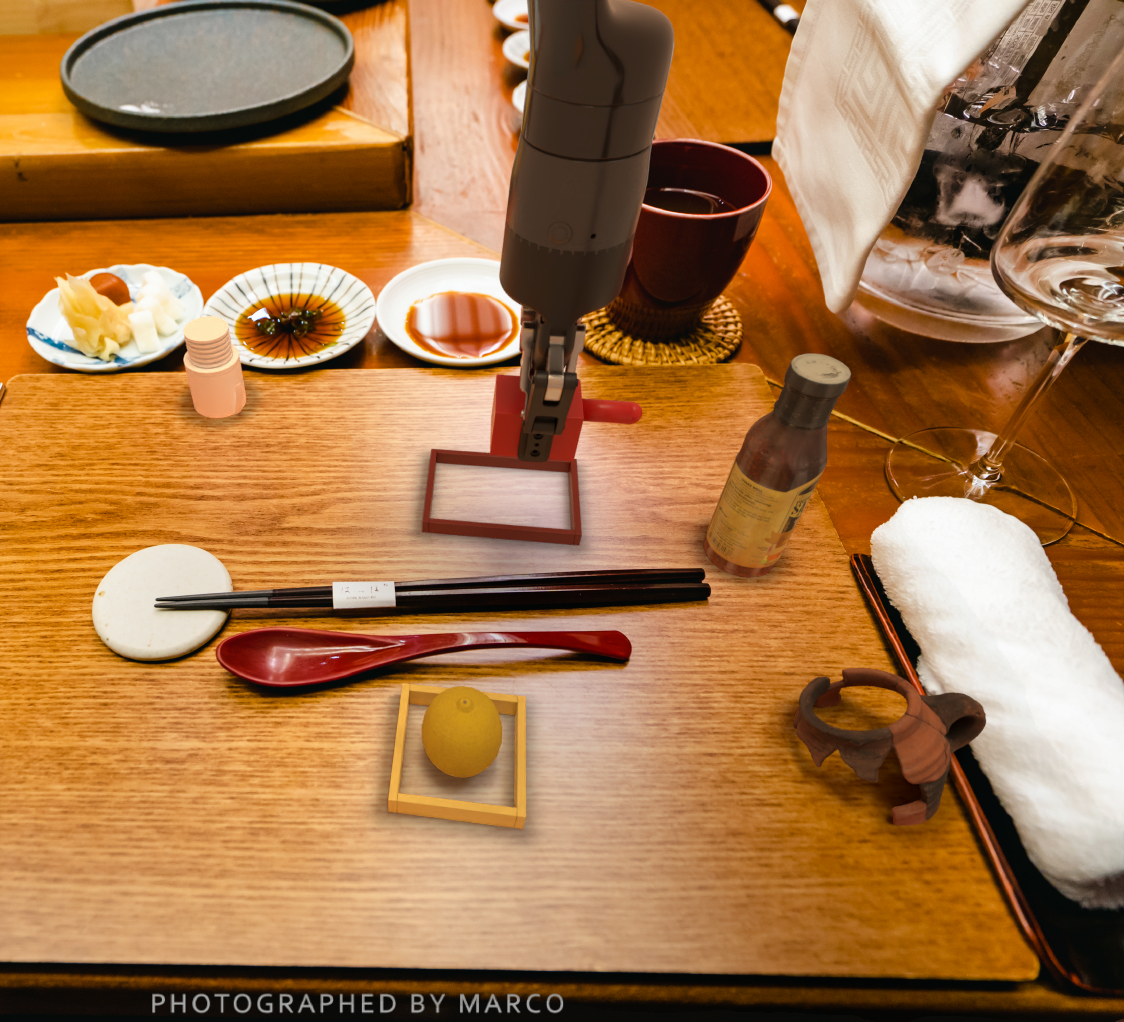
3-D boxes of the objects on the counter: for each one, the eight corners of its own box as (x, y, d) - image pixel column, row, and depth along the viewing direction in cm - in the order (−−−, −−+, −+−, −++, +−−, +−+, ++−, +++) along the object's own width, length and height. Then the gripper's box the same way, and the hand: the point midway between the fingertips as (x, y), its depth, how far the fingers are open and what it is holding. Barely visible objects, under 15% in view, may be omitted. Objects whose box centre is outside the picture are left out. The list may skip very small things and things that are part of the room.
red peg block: (629, 426, 59) (642, 383, 57) (635, 466, 56) (649, 423, 54) (491, 416, 61) (496, 373, 58) (489, 455, 58) (495, 412, 55)
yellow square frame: (522, 713, 60) (525, 696, 59) (521, 832, 54) (526, 817, 52) (402, 700, 62) (402, 682, 60) (388, 815, 55) (387, 799, 54)
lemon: (437, 714, 60) (441, 654, 54) (507, 742, 58) (519, 684, 53) (407, 777, 57) (409, 720, 51) (481, 809, 55) (491, 754, 49)
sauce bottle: (773, 590, 68) (874, 406, 54) (697, 572, 70) (775, 389, 55) (775, 537, 72) (868, 353, 58) (702, 520, 74) (776, 338, 60)
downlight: (268, 405, 88) (257, 328, 81) (219, 436, 84) (203, 358, 77) (222, 377, 92) (208, 301, 85) (174, 405, 88) (154, 328, 81)
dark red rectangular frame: (573, 473, 79) (576, 458, 77) (578, 550, 72) (582, 535, 70) (430, 463, 81) (431, 448, 79) (421, 536, 74) (422, 521, 72)
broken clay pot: (866, 861, 53) (846, 768, 50) (777, 770, 61) (756, 687, 59) (1034, 789, 52) (1024, 692, 50) (921, 709, 61) (907, 623, 58)
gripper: (651, 282, 41) (589, 509, 53) (626, 164, 51) (578, 380, 63) (505, 274, 42) (477, 500, 54) (507, 160, 51) (483, 374, 64)
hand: (531, 434), depth 59 cm, fingers closed on red peg block, 4 cm apart
